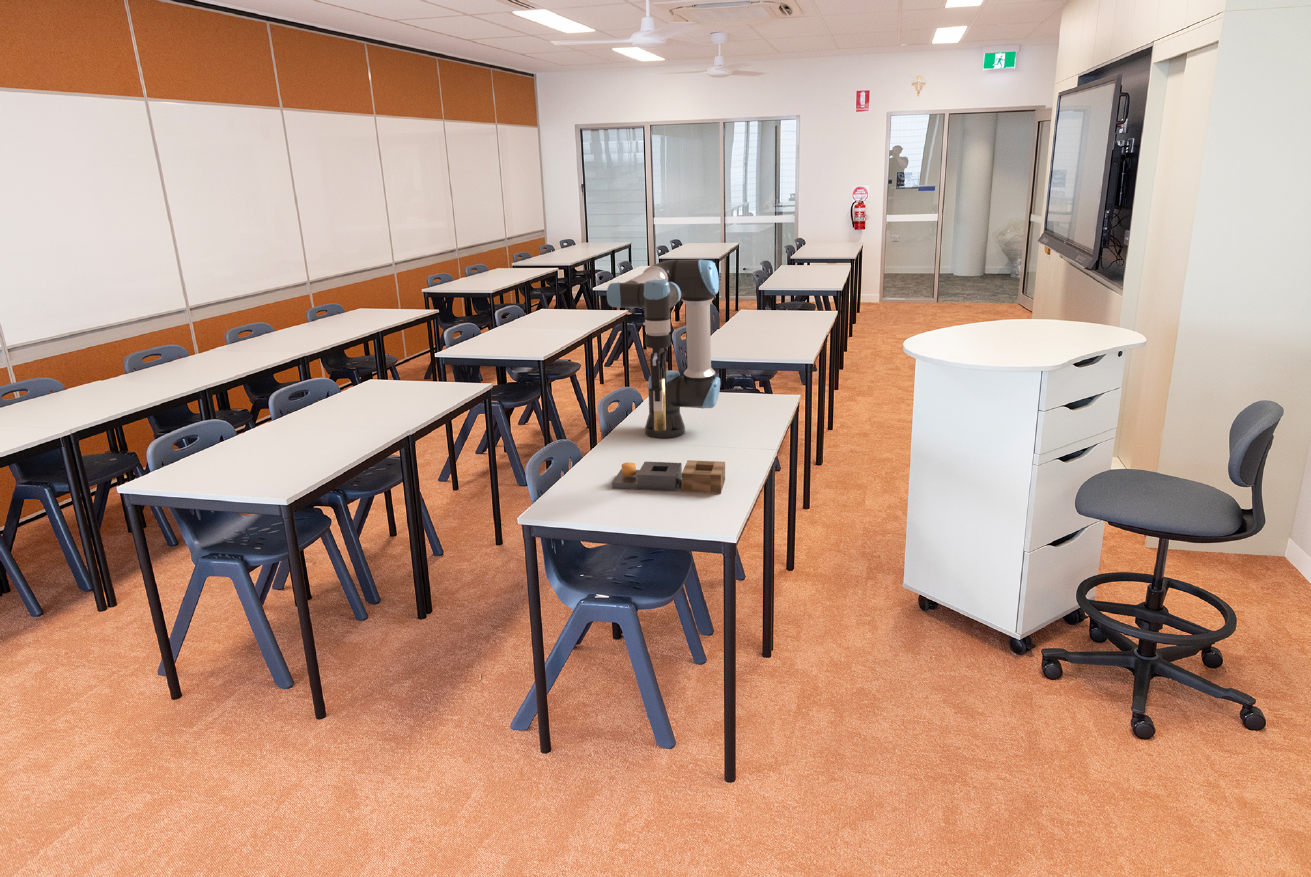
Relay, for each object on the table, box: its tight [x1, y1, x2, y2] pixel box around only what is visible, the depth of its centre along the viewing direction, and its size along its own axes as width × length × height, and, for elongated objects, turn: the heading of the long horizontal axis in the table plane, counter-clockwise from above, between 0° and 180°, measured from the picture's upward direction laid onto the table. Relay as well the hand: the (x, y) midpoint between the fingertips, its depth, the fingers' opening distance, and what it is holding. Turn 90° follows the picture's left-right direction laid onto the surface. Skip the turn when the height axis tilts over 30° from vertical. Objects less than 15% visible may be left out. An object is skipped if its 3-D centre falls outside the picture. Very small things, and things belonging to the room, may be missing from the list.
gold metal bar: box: [654, 378, 666, 431], centre depth 243 cm, size 4×4×16 cm
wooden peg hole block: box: [681, 459, 726, 495], centre depth 247 cm, size 12×12×6 cm
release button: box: [621, 461, 637, 476], centre depth 252 cm, size 4×4×3 cm
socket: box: [611, 461, 683, 492], centre depth 251 cm, size 12×20×5 cm, turn 79°
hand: (659, 408), depth 243 cm, fingers closed on gold metal bar, 3 cm apart
